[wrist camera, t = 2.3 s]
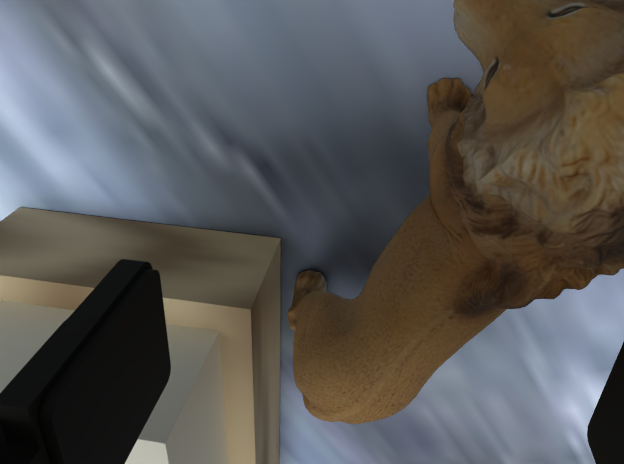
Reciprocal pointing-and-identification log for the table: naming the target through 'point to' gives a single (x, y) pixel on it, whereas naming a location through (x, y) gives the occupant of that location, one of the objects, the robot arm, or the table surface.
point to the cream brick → (173, 401)
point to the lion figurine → (483, 207)
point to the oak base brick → (169, 298)
